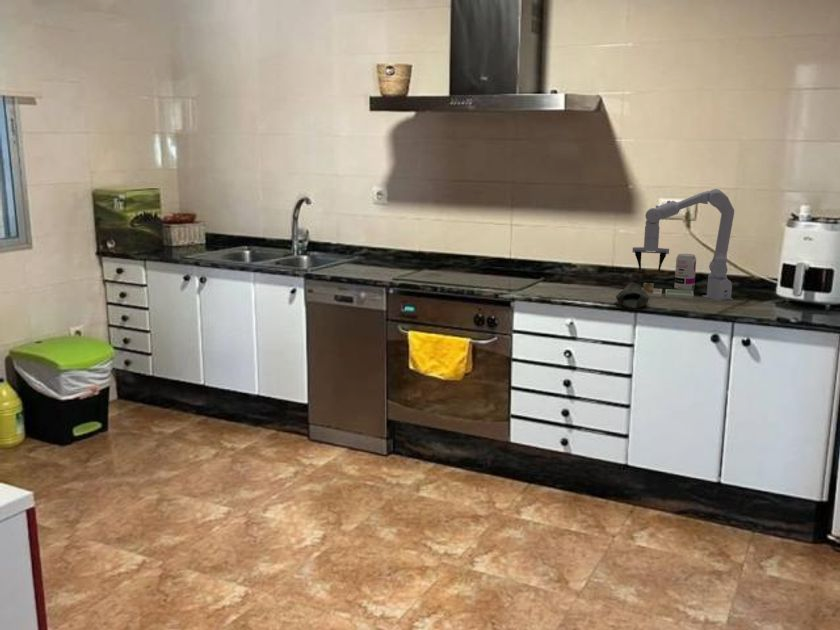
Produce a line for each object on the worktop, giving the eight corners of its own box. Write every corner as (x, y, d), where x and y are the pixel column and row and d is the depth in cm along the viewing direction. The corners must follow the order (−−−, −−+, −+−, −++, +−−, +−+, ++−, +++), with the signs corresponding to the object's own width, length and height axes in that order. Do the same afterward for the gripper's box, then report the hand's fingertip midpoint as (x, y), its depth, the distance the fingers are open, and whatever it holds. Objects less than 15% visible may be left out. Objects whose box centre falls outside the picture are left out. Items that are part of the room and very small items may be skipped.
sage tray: (692, 294, 345) (693, 290, 344) (693, 300, 334) (693, 295, 334) (665, 293, 348) (665, 289, 347) (665, 298, 337) (665, 294, 337)
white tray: (661, 293, 348) (662, 288, 348) (661, 298, 338) (661, 293, 337) (634, 291, 351) (635, 287, 351) (633, 296, 341) (633, 292, 341)
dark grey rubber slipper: (648, 309, 316) (651, 296, 340) (647, 291, 315) (651, 279, 338) (613, 310, 321) (619, 296, 344) (612, 292, 319) (618, 279, 342)
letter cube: (653, 292, 346) (653, 283, 345) (652, 294, 342) (653, 284, 341) (643, 292, 347) (643, 282, 346) (642, 294, 343) (643, 284, 342)
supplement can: (693, 288, 359) (696, 254, 356) (694, 291, 351) (697, 256, 348) (674, 287, 361) (676, 253, 358) (674, 290, 353) (676, 256, 350)
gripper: (632, 238, 337) (631, 271, 341) (669, 239, 333) (667, 272, 336) (633, 236, 344) (631, 268, 347) (670, 237, 340) (667, 270, 343)
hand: (649, 270), depth 342 cm, fingers open, 7 cm apart
